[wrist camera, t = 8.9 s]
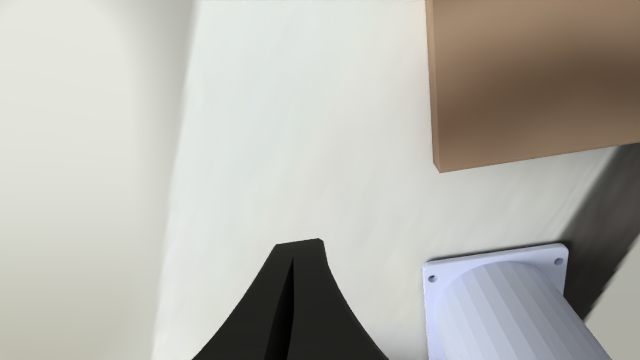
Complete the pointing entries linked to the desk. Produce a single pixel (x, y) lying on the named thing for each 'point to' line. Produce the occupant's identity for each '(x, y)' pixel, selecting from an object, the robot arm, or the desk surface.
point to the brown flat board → (531, 78)
